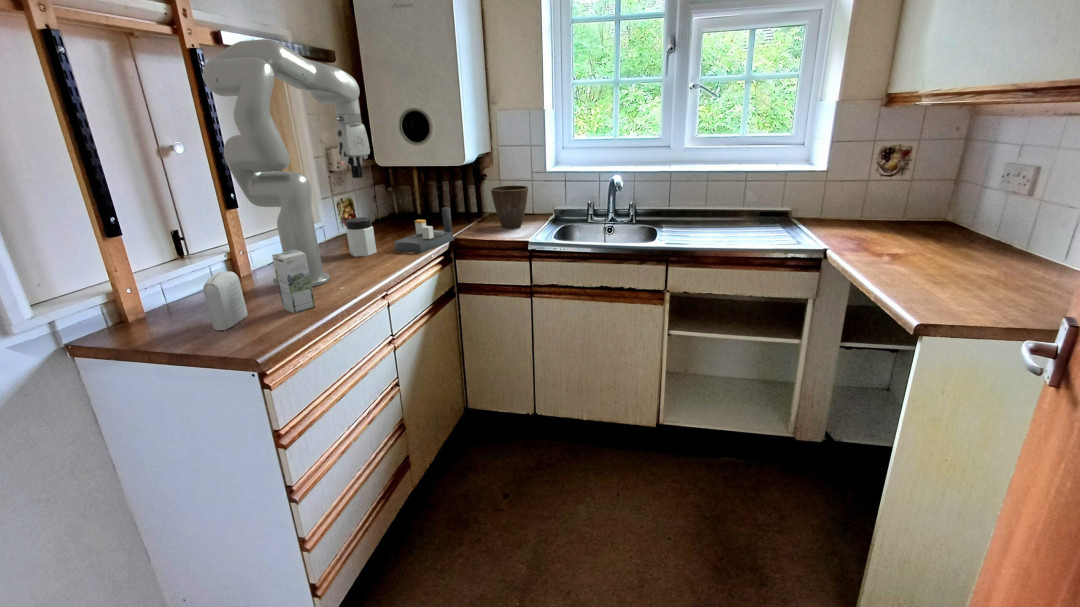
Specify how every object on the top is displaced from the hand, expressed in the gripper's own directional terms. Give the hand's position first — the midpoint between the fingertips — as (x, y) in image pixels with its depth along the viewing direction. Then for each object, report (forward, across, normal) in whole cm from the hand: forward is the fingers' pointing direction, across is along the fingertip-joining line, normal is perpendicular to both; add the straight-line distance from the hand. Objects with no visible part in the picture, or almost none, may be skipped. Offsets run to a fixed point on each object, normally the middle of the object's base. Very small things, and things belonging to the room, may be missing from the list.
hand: (357, 177), depth 177 cm
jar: (+26, -4, -1) cm, 26 cm away
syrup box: (+27, -50, -26) cm, 63 cm away
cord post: (+25, +23, -18) cm, 39 cm away
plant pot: (+25, +50, -30) cm, 63 cm away
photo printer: (+27, -64, -19) cm, 72 cm away
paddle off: (+22, +10, -19) cm, 31 cm away
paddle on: (+22, +15, -12) cm, 29 cm away
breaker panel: (+25, +13, -15) cm, 32 cm away
